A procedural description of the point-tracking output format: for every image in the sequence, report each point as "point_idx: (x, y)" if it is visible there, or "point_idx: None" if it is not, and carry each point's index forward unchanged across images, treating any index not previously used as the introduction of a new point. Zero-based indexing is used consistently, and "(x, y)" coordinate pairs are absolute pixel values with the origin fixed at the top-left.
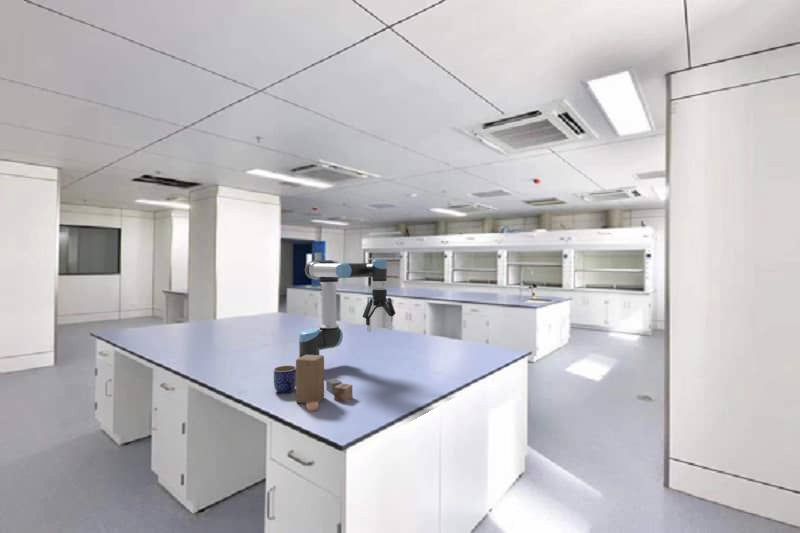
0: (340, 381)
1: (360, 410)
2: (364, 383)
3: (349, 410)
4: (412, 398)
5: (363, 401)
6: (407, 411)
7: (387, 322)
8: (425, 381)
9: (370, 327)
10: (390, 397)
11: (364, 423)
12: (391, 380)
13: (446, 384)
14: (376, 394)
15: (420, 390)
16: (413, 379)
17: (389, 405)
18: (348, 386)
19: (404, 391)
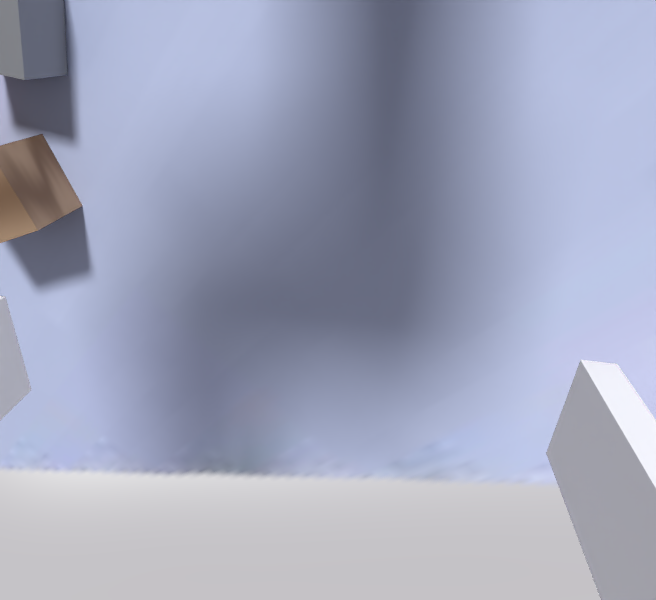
0: (21, 60)
1: (46, 346)
2: (283, 50)
3: None
4: (310, 419)
5: (106, 286)
6: (196, 471)
7: (638, 476)
8: (583, 332)
9: None
10: (242, 344)
11: (11, 427)
12: (467, 155)
13: None
14: (214, 267)
15: (424, 391)
16: (579, 255)
17: (177, 396)
18: (6, 231)
19: (356, 343)
